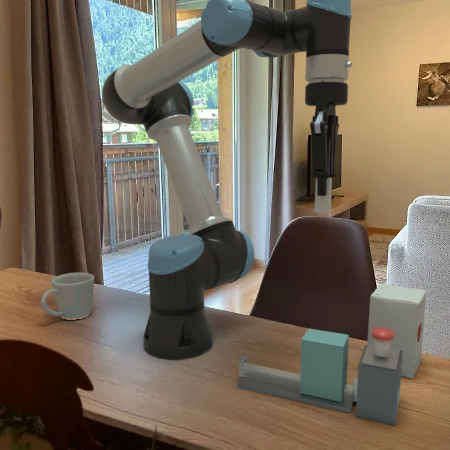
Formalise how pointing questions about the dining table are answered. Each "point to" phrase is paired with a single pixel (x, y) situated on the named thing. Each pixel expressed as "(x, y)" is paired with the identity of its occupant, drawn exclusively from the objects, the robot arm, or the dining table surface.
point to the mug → (71, 295)
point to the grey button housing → (379, 385)
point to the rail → (289, 386)
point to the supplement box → (400, 321)
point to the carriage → (324, 364)
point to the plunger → (382, 341)
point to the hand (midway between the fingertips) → (322, 212)
